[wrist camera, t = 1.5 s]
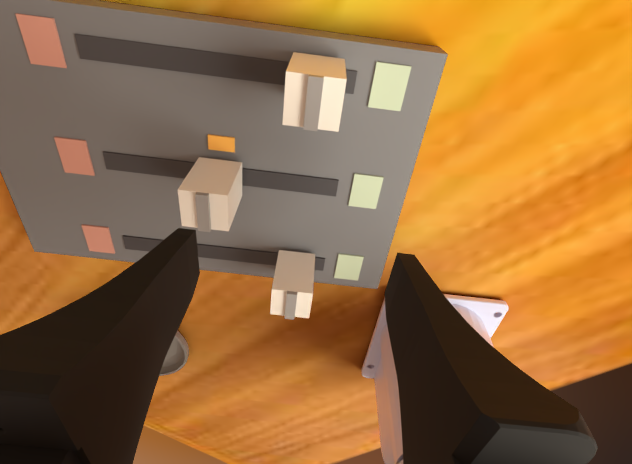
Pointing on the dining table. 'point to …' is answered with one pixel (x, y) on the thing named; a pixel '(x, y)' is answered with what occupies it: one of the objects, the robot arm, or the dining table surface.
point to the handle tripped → (210, 194)
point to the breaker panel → (203, 135)
